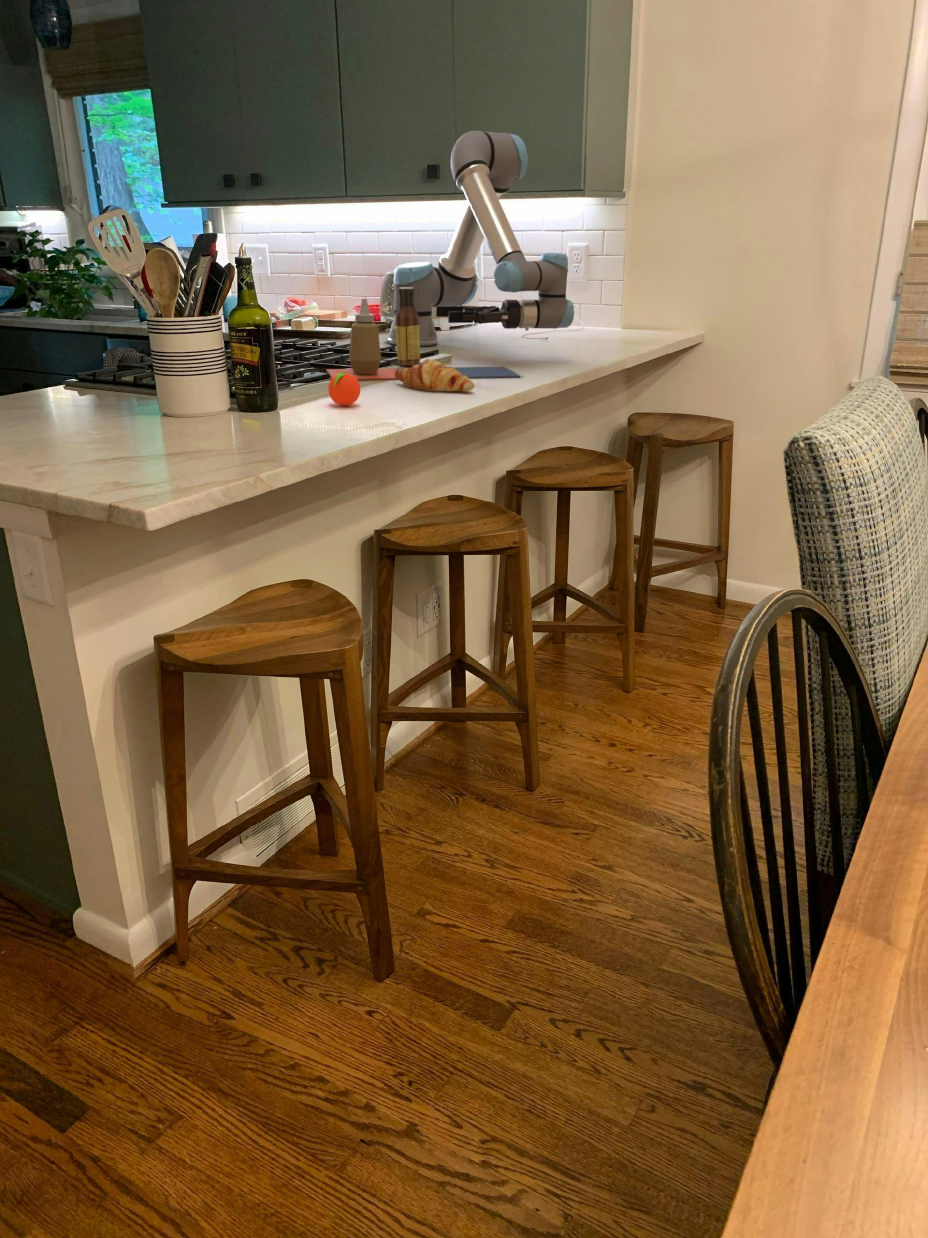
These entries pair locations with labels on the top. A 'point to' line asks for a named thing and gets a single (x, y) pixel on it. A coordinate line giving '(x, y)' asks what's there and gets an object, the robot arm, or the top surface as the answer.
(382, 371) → the terracotta mat
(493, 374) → the slate mat
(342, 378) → the clementine
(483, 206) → the robot arm
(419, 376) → the croissant
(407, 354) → the sauce bottle
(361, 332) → the squeeze bottle
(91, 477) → the top surface
